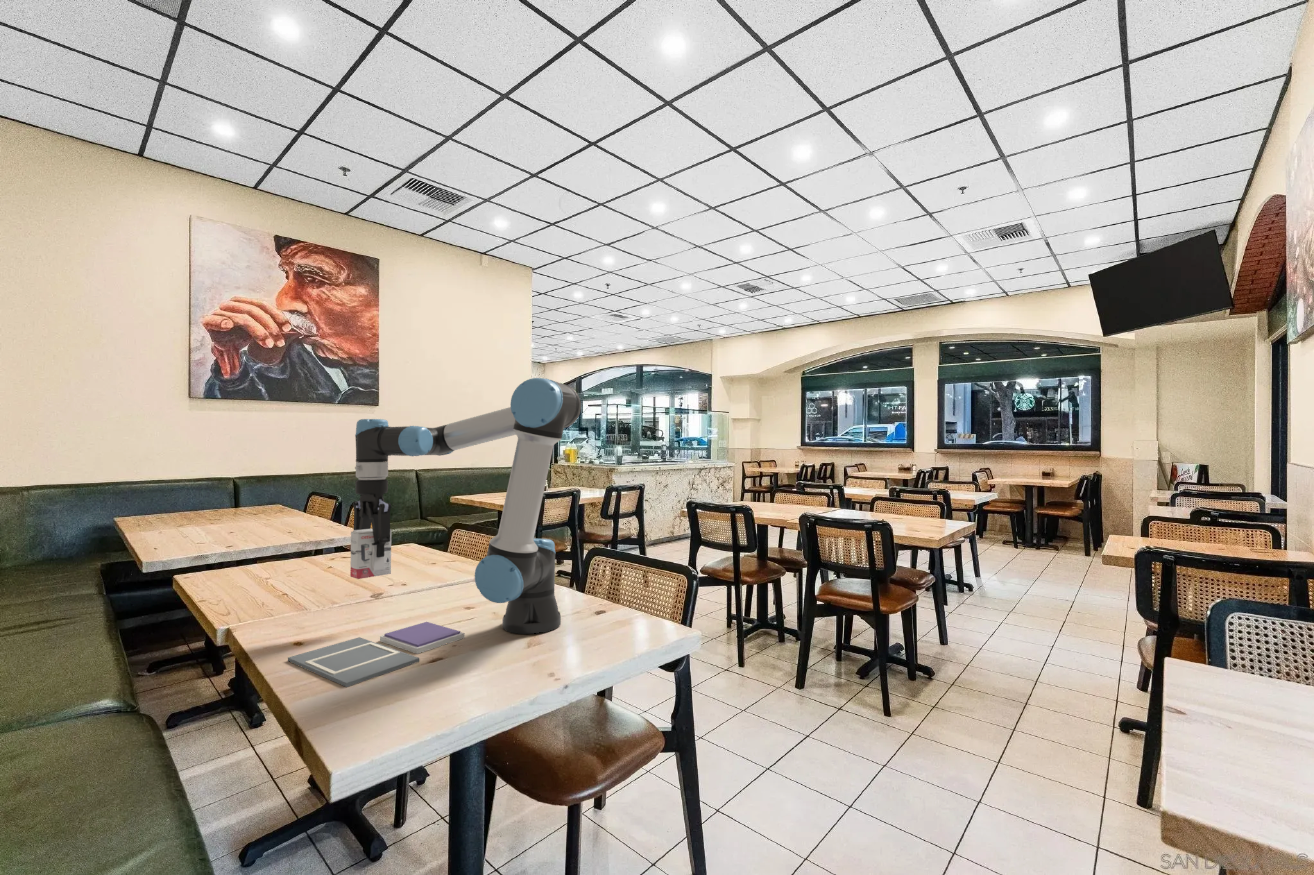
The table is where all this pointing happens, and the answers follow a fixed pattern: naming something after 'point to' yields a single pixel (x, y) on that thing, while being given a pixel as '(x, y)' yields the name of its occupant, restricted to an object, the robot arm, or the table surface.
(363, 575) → the ink box
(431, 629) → the ink pad
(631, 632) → the table surface
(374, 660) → the slate board
